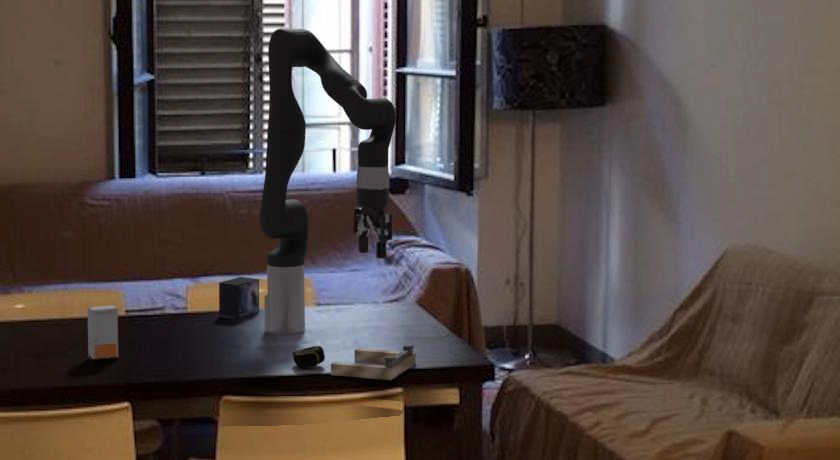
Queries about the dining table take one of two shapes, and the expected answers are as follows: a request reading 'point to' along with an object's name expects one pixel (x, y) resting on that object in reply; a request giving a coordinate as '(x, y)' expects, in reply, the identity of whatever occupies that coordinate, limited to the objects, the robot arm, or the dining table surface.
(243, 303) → the small box
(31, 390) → the dining table surface
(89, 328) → the skincare box
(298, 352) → the tape measure
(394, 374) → the tan piece
